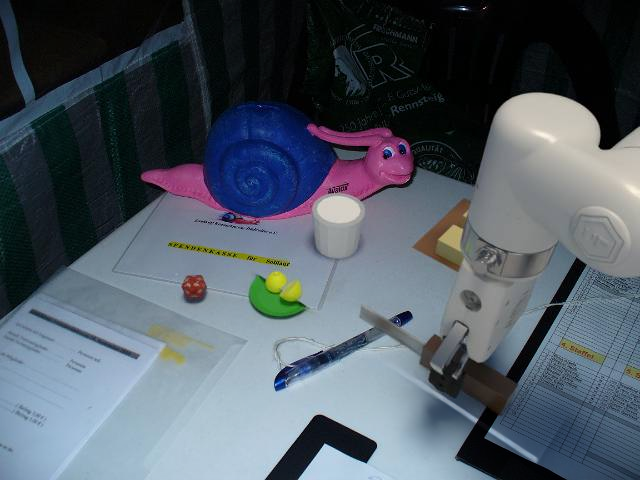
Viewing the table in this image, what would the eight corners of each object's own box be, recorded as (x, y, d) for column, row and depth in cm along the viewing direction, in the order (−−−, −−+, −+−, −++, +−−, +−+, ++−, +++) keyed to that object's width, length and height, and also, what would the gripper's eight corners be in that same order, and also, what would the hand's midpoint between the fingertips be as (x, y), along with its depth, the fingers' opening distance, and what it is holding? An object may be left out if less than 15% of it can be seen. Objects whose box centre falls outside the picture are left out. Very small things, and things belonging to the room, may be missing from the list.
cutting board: (538, 238, 83) (540, 233, 82) (490, 295, 75) (492, 290, 74) (462, 202, 88) (464, 197, 88) (410, 252, 80) (411, 247, 80)
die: (188, 284, 75) (185, 267, 73) (211, 288, 75) (209, 271, 73) (179, 301, 73) (176, 284, 71) (203, 305, 73) (200, 289, 71)
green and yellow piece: (324, 285, 76) (325, 269, 74) (294, 328, 70) (293, 313, 69) (270, 263, 78) (269, 248, 76) (236, 304, 73) (235, 288, 71)
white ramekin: (349, 227, 84) (352, 187, 79) (370, 259, 79) (374, 219, 75) (304, 238, 82) (304, 198, 77) (322, 272, 77) (323, 232, 73)
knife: (509, 405, 63) (518, 384, 61) (498, 420, 62) (507, 399, 59) (366, 315, 72) (368, 293, 69) (353, 327, 71) (355, 304, 68)
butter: (489, 258, 78) (494, 244, 77) (474, 274, 76) (478, 260, 74) (450, 237, 81) (453, 224, 80) (434, 253, 79) (437, 239, 77)
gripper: (500, 322, 44) (456, 438, 55) (590, 208, 54) (536, 327, 65) (414, 272, 47) (389, 392, 59) (514, 174, 57) (476, 292, 69)
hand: (467, 357), depth 62 cm, fingers open, 9 cm apart
